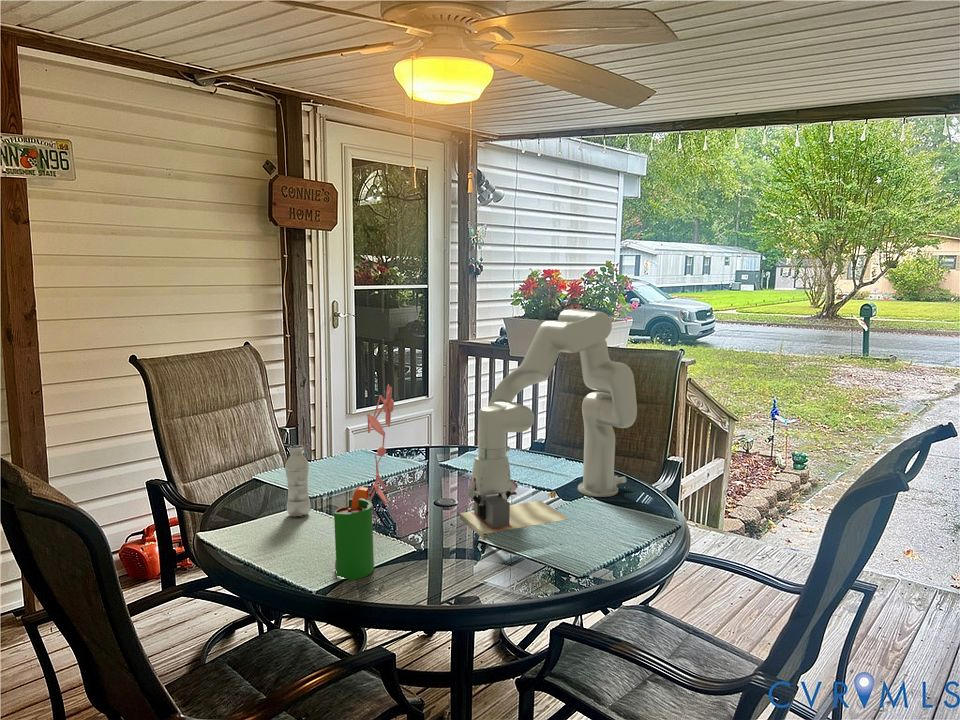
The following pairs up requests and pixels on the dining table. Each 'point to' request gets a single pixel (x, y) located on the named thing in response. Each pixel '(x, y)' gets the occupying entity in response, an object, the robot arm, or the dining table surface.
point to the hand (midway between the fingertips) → (491, 516)
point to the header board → (515, 517)
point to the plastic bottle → (297, 482)
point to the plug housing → (495, 511)
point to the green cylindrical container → (354, 537)
